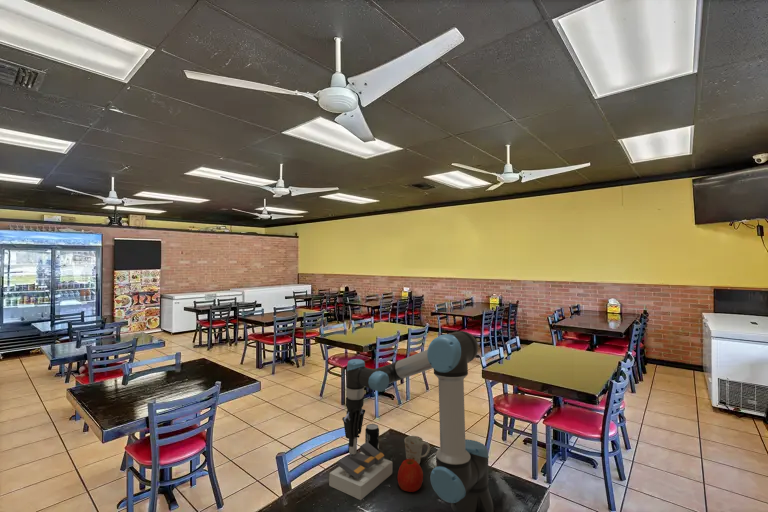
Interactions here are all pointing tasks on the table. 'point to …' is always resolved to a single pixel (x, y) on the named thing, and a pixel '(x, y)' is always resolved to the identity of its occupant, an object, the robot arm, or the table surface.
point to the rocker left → (351, 467)
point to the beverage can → (372, 435)
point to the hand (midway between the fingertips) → (352, 453)
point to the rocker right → (372, 452)
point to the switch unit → (360, 479)
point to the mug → (415, 448)
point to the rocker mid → (363, 459)
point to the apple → (410, 475)
